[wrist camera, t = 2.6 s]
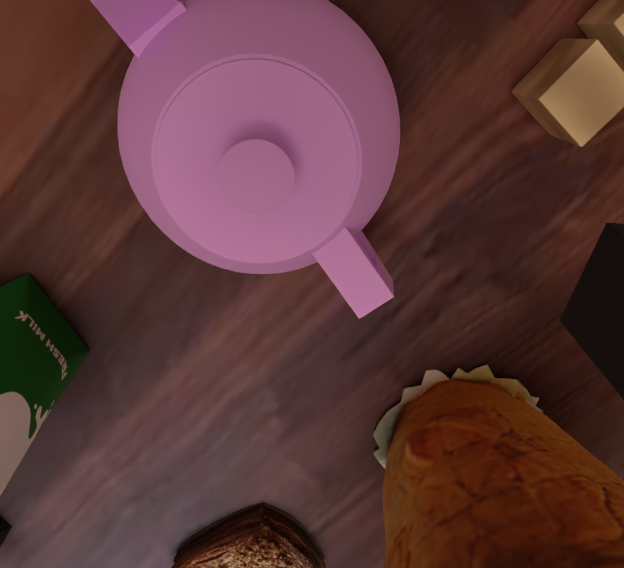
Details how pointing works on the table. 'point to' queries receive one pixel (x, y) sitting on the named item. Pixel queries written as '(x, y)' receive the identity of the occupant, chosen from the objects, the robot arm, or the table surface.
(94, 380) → the table surface
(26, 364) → the soya milk
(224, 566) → the pastry
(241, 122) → the teapot
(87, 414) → the table surface
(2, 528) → the flower arrangement
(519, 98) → the cube
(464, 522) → the vase
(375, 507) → the table surface
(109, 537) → the table surface
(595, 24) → the cube
